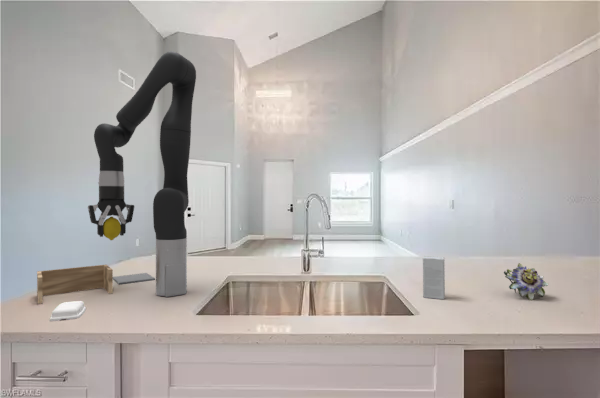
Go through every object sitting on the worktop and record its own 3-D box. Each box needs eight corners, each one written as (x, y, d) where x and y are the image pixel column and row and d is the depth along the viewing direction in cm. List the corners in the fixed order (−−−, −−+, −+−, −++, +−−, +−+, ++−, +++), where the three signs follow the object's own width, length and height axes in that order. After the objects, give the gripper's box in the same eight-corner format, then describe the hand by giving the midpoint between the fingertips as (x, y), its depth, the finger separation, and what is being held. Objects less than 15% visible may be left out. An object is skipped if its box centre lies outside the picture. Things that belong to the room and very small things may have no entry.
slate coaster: (155, 279, 133) (155, 278, 133) (119, 284, 125) (119, 282, 125) (146, 274, 142) (146, 272, 142) (112, 278, 135) (112, 276, 135)
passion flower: (530, 317, 107) (513, 287, 104) (505, 300, 118) (489, 272, 115) (562, 296, 107) (545, 265, 104) (534, 281, 118) (519, 252, 115)
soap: (79, 320, 90) (79, 308, 90) (47, 323, 88) (47, 311, 88) (87, 309, 98) (87, 298, 98) (58, 312, 96) (58, 301, 96)
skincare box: (444, 296, 110) (445, 257, 110) (444, 299, 106) (444, 259, 106) (424, 294, 113) (424, 255, 113) (422, 297, 109) (422, 257, 109)
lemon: (124, 239, 123) (124, 216, 123) (114, 241, 117) (114, 216, 117) (108, 239, 123) (108, 216, 123) (98, 241, 118) (98, 216, 118)
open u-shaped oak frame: (112, 293, 114) (112, 269, 114) (38, 304, 102) (38, 277, 102) (106, 286, 122) (106, 264, 122) (37, 295, 111) (37, 271, 111)
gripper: (89, 184, 113) (89, 238, 113) (137, 185, 122) (137, 235, 122) (84, 185, 119) (85, 236, 119) (131, 186, 128) (131, 233, 128)
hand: (111, 235), depth 120 cm, fingers closed on lemon, 5 cm apart
